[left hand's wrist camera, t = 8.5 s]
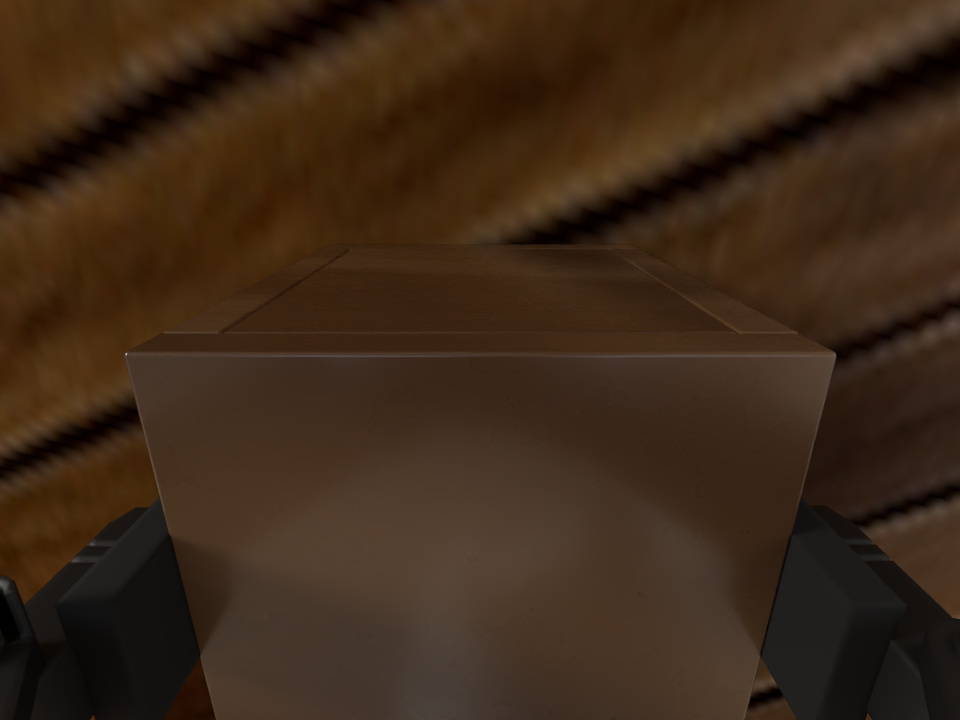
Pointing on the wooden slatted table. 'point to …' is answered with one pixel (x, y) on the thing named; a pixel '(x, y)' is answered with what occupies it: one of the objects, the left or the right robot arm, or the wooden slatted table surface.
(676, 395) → the brown box
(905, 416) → the wooden slatted table surface
